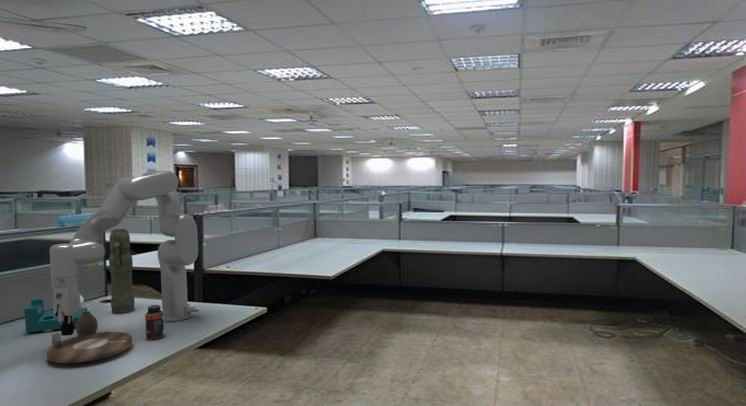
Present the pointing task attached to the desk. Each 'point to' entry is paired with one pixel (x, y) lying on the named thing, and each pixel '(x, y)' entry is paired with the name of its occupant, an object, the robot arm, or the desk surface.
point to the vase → (86, 324)
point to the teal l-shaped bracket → (44, 317)
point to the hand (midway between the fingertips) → (67, 334)
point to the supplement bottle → (154, 323)
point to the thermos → (121, 272)
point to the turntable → (87, 347)
